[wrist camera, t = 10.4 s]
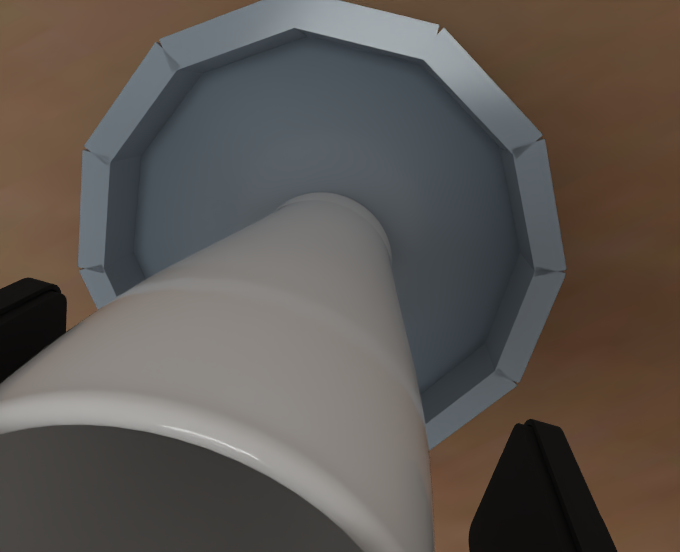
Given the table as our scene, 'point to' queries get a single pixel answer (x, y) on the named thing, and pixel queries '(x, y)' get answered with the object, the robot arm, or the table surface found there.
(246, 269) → the white cup
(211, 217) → the bowl
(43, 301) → the robot arm
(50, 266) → the table surface
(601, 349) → the table surface
